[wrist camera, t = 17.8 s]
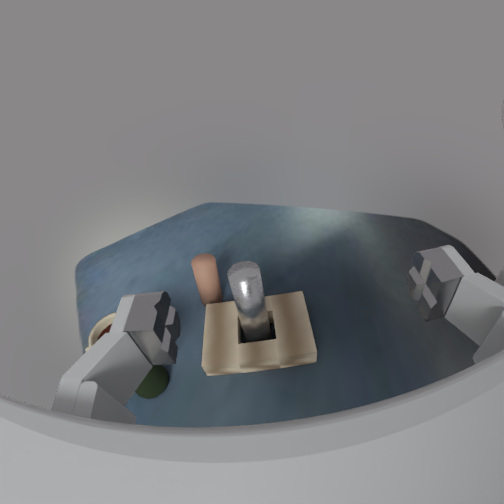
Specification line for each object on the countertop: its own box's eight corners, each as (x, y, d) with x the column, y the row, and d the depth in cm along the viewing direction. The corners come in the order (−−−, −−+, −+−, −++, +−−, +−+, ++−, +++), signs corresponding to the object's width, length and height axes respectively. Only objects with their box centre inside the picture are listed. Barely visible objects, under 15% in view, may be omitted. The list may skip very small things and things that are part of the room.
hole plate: (302, 303, 47) (302, 290, 45) (316, 362, 38) (317, 351, 36) (210, 315, 48) (206, 304, 46) (207, 375, 38) (201, 365, 37)
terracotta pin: (212, 288, 53) (204, 250, 48) (227, 298, 51) (220, 259, 46) (197, 299, 51) (186, 262, 46) (211, 310, 49) (201, 272, 43)
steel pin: (270, 326, 44) (258, 259, 36) (272, 346, 41) (260, 280, 33) (245, 329, 45) (227, 263, 36) (246, 350, 41) (227, 285, 33)
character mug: (181, 357, 42) (148, 302, 34) (187, 395, 36) (149, 345, 28) (122, 370, 40) (80, 321, 32) (122, 407, 35) (73, 362, 27)
